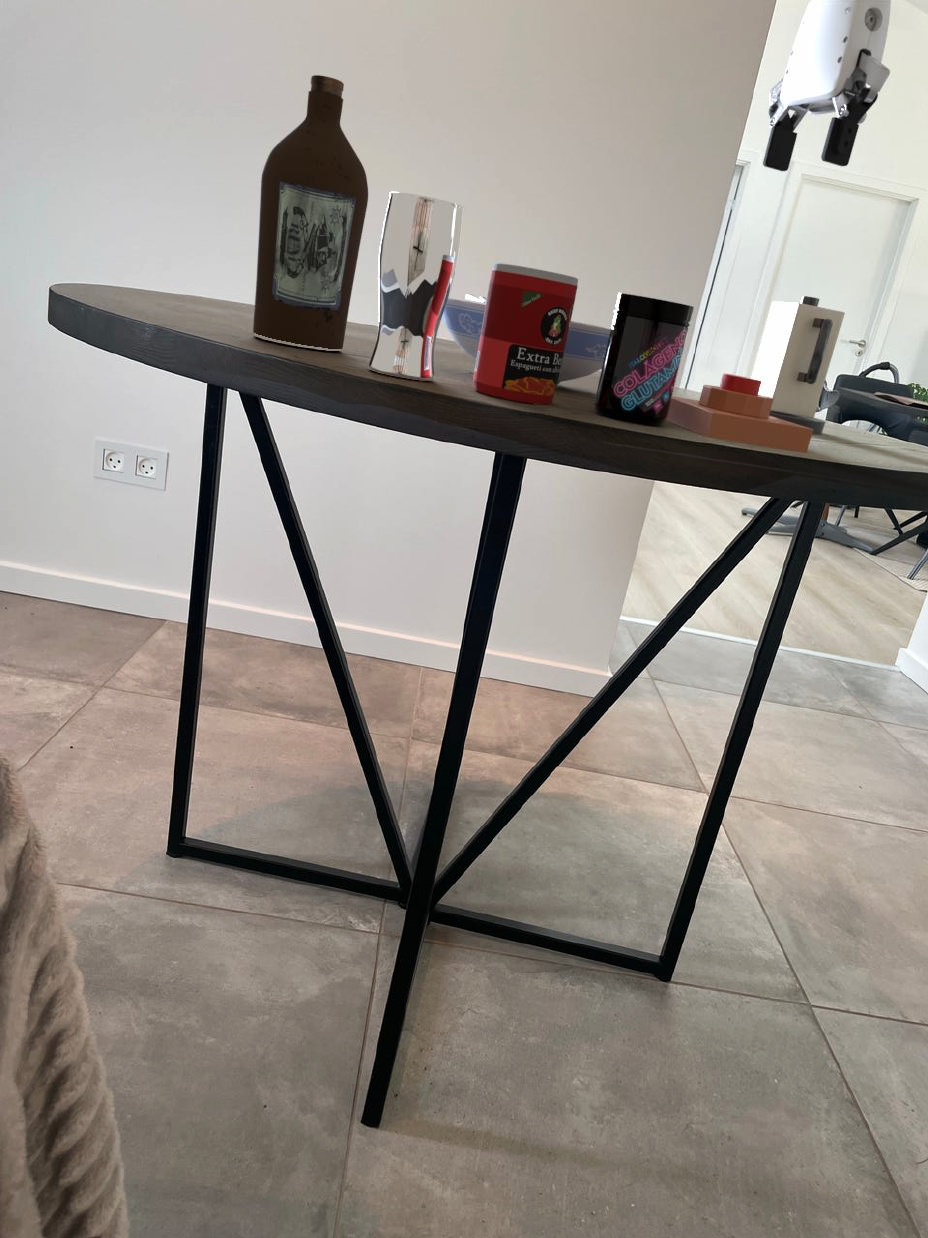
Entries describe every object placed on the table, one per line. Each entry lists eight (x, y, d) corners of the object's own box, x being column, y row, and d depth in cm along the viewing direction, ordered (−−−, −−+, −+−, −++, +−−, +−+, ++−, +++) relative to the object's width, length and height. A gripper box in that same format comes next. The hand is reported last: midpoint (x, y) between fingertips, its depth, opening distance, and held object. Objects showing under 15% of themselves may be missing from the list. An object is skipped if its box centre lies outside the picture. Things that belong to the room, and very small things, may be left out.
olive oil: (245, 331, 101) (269, 75, 93) (341, 347, 104) (373, 100, 96) (247, 340, 92) (275, 55, 83) (353, 357, 95) (390, 83, 86)
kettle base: (713, 410, 115) (716, 398, 115) (791, 423, 118) (794, 412, 117) (756, 425, 105) (759, 411, 105) (840, 439, 108) (844, 426, 107)
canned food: (507, 401, 80) (532, 267, 76) (453, 385, 86) (474, 259, 82) (571, 408, 84) (598, 281, 81) (516, 392, 90) (539, 273, 87)
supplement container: (589, 415, 81) (616, 291, 78) (593, 409, 87) (618, 294, 84) (665, 431, 80) (696, 306, 77) (664, 424, 87) (693, 308, 83)
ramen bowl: (641, 410, 96) (660, 328, 93) (422, 370, 94) (436, 286, 92) (603, 387, 119) (618, 322, 117) (428, 355, 118) (439, 288, 115)
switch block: (744, 430, 95) (755, 391, 94) (806, 453, 84) (819, 409, 83) (655, 416, 93) (664, 375, 91) (707, 437, 82) (719, 391, 80)
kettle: (736, 400, 115) (765, 291, 111) (778, 407, 117) (809, 300, 112) (779, 413, 105) (813, 294, 101) (825, 421, 107) (861, 304, 103)
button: (745, 396, 89) (750, 377, 89) (763, 401, 86) (769, 382, 85) (711, 390, 88) (716, 371, 88) (729, 395, 85) (734, 376, 84)
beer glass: (408, 372, 90) (434, 206, 85) (453, 385, 85) (483, 210, 80) (348, 365, 85) (372, 189, 81) (392, 378, 81) (420, 193, 76)
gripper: (944, -24, 89) (887, 169, 95) (823, 12, 104) (779, 177, 110) (886, -49, 86) (830, 152, 92) (770, -8, 101) (728, 163, 107)
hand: (803, 165), depth 101 cm, fingers open, 9 cm apart
